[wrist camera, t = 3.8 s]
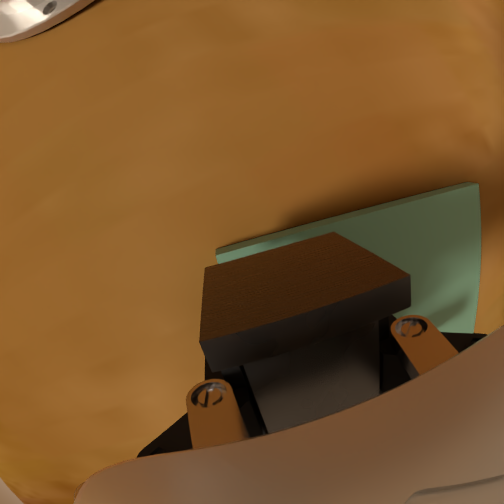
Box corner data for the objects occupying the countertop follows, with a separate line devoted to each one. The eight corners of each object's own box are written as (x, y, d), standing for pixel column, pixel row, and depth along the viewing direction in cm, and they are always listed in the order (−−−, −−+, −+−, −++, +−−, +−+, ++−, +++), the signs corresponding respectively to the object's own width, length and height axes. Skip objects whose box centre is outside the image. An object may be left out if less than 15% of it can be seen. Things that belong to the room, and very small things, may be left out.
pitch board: (215, 249, 13) (216, 287, 9) (467, 181, 14) (523, 191, 9) (300, 497, 20) (311, 533, 16) (438, 438, 21) (458, 465, 17)
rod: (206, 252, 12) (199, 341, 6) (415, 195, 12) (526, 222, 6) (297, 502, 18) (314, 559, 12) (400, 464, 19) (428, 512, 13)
